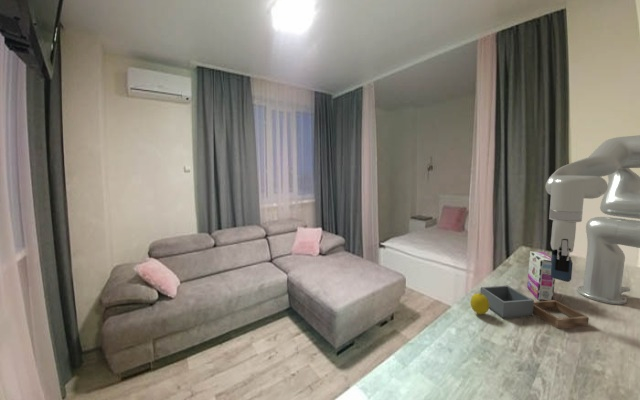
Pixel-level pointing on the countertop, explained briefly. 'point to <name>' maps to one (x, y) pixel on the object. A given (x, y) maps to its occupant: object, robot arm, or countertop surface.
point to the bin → (508, 302)
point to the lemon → (479, 303)
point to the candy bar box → (540, 276)
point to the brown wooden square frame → (574, 316)
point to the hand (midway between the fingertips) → (561, 268)
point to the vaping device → (560, 274)
